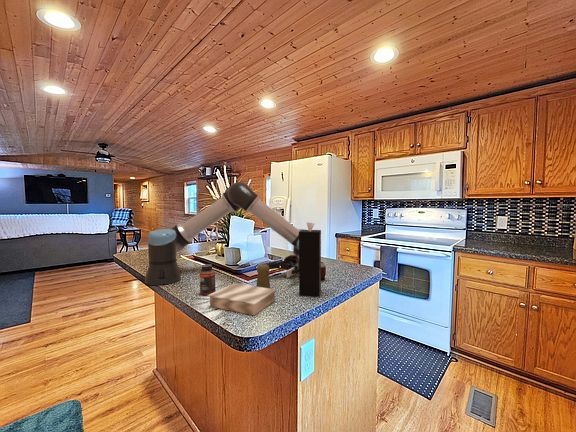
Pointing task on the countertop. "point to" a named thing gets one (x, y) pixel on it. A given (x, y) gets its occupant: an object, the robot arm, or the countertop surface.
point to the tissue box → (310, 261)
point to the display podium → (242, 298)
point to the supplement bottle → (207, 280)
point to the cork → (263, 276)
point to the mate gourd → (323, 271)
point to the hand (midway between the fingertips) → (273, 272)
